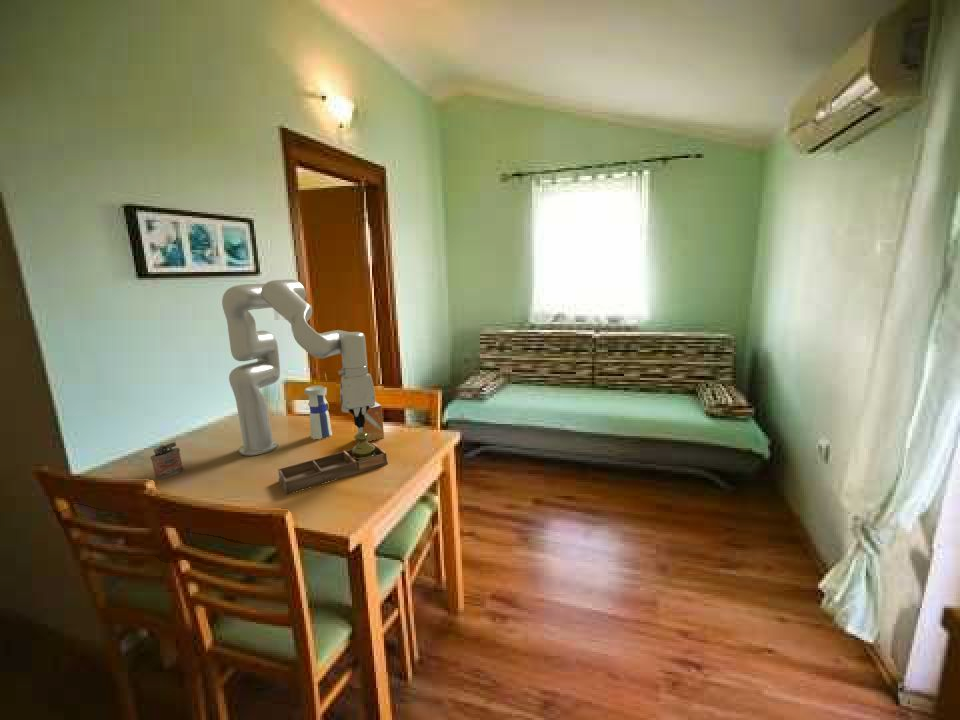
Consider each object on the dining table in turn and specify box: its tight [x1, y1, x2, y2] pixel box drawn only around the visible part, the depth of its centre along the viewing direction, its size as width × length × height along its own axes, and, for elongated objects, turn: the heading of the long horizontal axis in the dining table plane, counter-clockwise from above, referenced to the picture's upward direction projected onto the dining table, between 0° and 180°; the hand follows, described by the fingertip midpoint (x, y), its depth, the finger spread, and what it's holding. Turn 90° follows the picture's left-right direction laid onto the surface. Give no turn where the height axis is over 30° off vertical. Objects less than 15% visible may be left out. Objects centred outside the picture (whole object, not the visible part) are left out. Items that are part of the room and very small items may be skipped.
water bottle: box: [304, 373, 333, 440], centre depth 167 cm, size 8×8×25 cm
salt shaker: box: [352, 431, 376, 461], centre depth 142 cm, size 7×7×10 cm
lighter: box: [150, 442, 184, 480], centre depth 140 cm, size 8×3×10 cm, turn 148°
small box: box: [357, 401, 385, 442], centre depth 163 cm, size 8×6×13 cm
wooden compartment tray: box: [277, 442, 389, 495], centre depth 137 cm, size 11×31×4 cm, turn 125°
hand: (360, 426), depth 141 cm, fingers closed
